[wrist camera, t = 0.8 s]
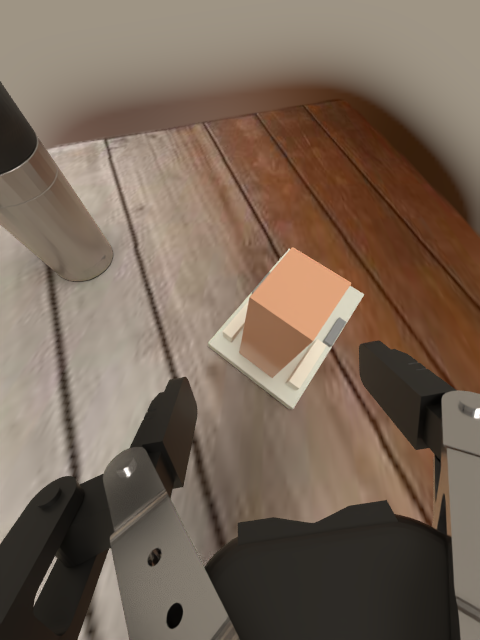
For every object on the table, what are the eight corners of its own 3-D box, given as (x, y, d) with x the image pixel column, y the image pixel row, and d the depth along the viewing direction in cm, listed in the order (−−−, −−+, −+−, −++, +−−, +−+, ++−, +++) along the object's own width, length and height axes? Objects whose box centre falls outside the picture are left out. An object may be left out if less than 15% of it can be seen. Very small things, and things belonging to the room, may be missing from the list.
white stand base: (209, 347, 34) (206, 338, 31) (286, 256, 41) (292, 240, 38) (289, 409, 32) (297, 408, 28) (357, 300, 39) (371, 288, 35)
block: (239, 353, 32) (249, 297, 17) (264, 321, 34) (292, 246, 19) (272, 378, 31) (313, 341, 16) (296, 343, 33) (351, 283, 18)
